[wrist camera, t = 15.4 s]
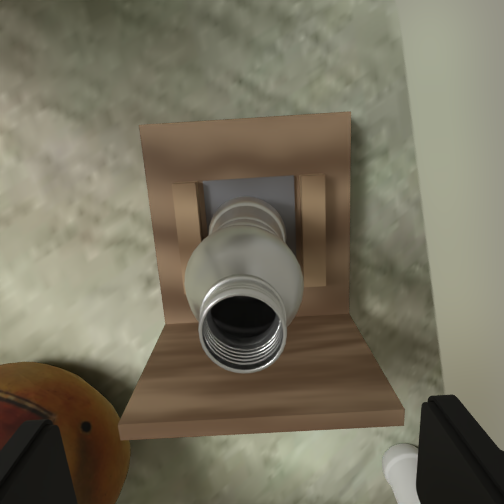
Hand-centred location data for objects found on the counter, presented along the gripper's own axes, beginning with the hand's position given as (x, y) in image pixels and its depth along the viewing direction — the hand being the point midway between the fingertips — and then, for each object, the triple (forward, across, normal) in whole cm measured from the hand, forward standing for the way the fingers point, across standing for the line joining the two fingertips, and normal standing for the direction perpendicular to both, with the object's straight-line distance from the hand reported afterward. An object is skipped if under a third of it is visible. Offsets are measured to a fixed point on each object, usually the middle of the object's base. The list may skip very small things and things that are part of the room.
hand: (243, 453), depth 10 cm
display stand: (+29, -1, 0) cm, 29 cm away
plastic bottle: (+26, 0, 0) cm, 26 cm away
